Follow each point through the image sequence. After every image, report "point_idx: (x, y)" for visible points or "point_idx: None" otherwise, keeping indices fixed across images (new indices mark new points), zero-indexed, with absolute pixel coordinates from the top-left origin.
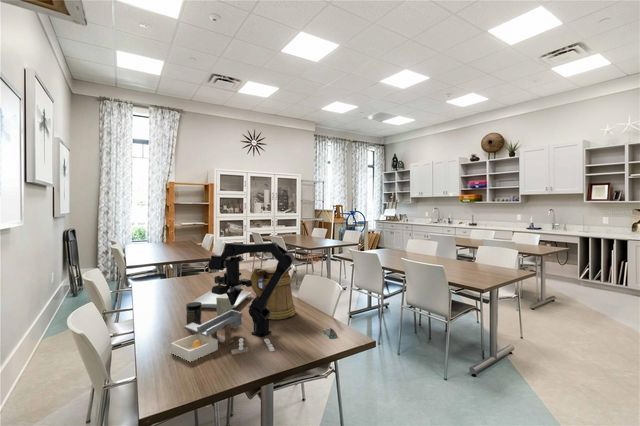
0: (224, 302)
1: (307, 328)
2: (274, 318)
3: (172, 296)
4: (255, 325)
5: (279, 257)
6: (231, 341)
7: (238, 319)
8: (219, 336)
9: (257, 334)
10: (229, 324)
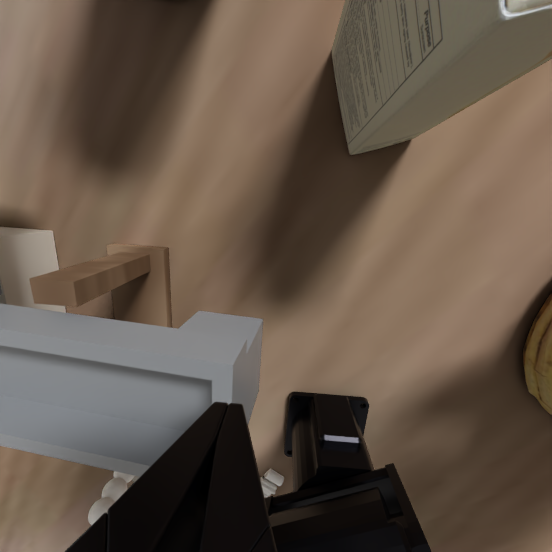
0: (431, 7)
1: (470, 545)
2: (531, 391)
3: None
4: (297, 457)
5: None
6: None
7: None
8: (150, 295)
9: (290, 431)
10: None
